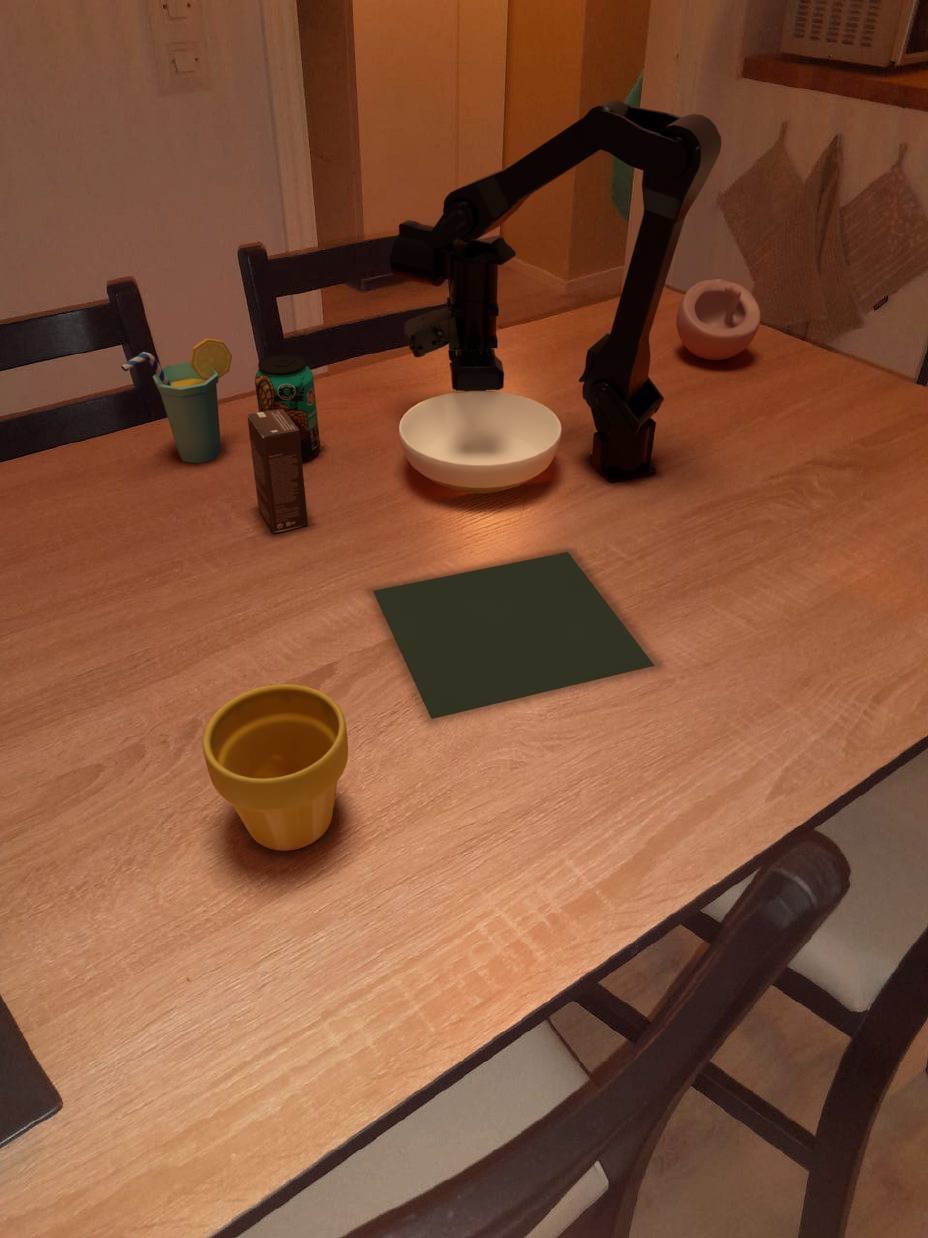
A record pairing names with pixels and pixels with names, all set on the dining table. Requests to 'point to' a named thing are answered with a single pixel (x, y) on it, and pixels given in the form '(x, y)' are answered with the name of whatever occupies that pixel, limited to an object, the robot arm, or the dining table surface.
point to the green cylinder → (290, 395)
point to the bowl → (480, 440)
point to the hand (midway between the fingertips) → (472, 409)
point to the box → (278, 469)
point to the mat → (506, 633)
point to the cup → (192, 398)
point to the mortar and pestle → (717, 319)
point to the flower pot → (278, 761)
